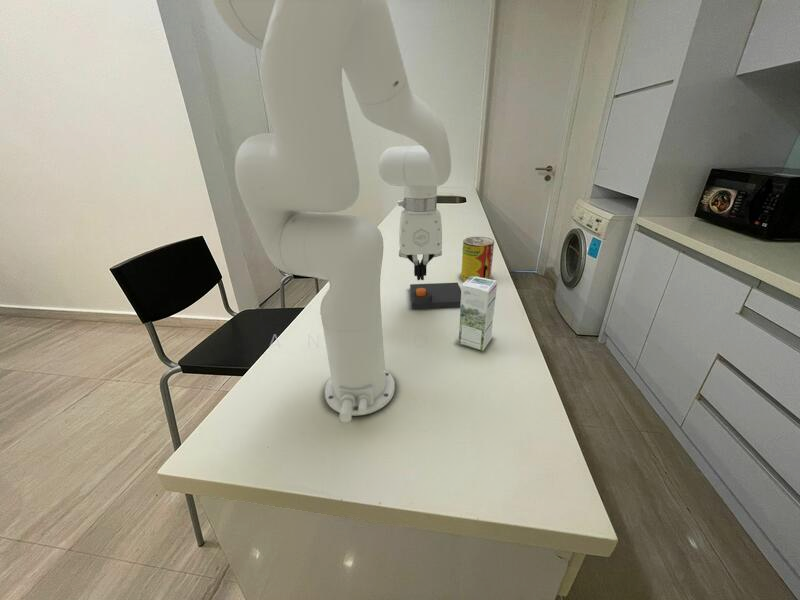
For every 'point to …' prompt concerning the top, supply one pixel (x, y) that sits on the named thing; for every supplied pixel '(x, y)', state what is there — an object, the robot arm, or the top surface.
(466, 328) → the syrup box
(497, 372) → the top surface
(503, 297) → the top surface
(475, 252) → the yellow red tin can
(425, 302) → the scale
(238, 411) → the top surface
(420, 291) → the button
